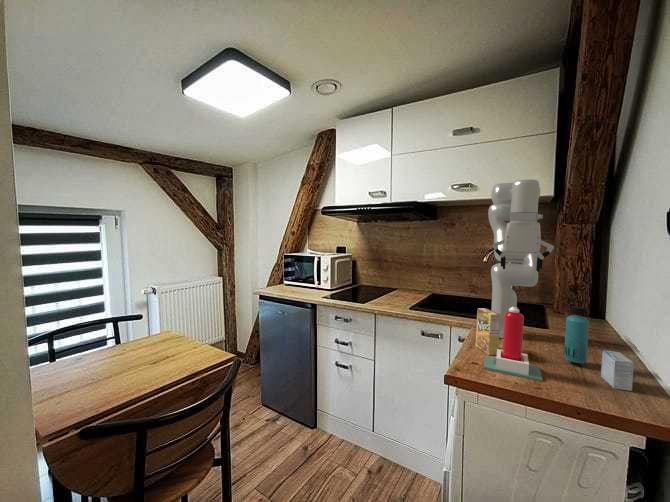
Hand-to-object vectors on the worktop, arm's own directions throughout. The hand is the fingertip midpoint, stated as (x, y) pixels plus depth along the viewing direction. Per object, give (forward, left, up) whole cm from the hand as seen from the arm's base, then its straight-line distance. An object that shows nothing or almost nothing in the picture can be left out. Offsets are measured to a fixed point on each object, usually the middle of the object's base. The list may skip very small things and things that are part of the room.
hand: (520, 269), depth 100 cm
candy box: (-9, -9, -33) cm, 35 cm away
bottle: (+4, -1, -32) cm, 32 cm away
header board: (+4, -1, -33) cm, 33 cm away
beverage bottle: (-12, +18, -33) cm, 39 cm away
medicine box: (-1, +26, -33) cm, 42 cm away
